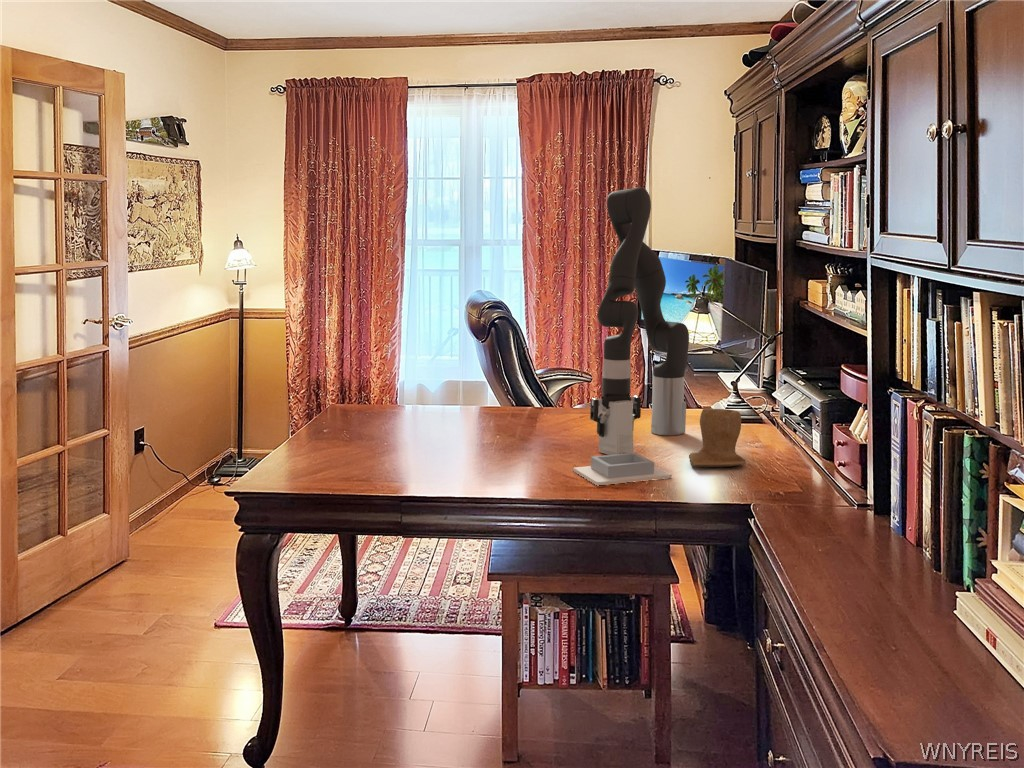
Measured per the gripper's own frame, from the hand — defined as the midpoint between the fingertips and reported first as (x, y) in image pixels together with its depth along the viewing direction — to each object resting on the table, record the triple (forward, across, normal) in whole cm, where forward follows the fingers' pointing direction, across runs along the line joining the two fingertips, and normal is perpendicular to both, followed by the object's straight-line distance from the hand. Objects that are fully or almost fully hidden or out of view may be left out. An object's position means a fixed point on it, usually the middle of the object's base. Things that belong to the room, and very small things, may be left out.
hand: (615, 435), depth 241 cm
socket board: (+5, +8, +20) cm, 22 cm away
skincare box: (+5, 0, 0) cm, 5 cm away
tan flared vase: (+5, -19, +19) cm, 28 cm away
